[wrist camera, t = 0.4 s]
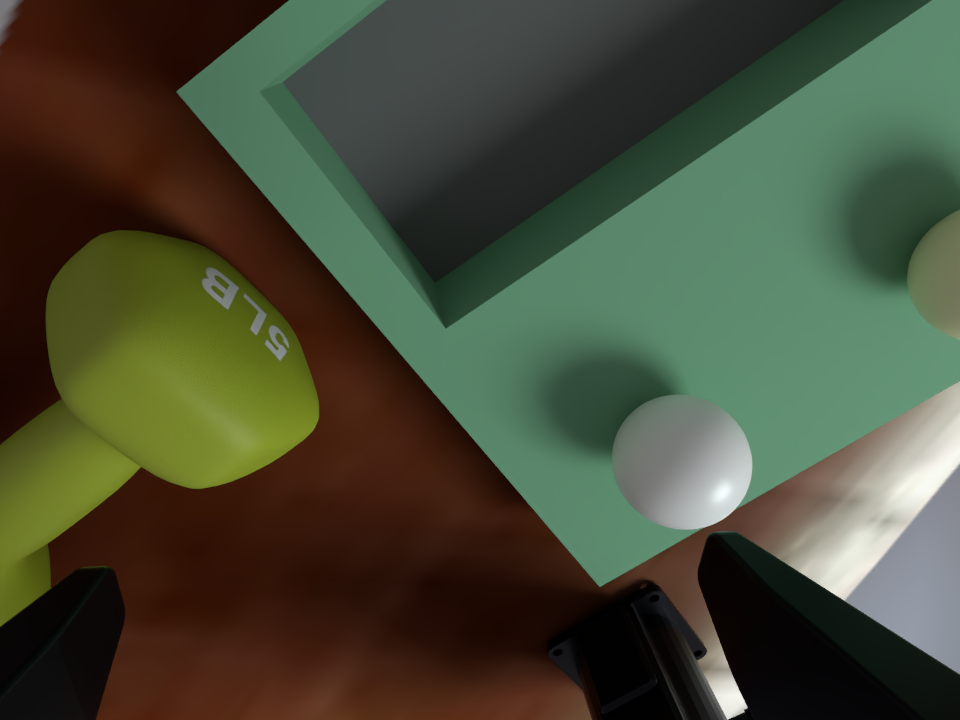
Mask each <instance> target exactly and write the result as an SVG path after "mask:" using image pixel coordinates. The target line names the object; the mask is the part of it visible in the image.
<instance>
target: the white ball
mask: <svg viewBox="0 0 960 720" xmlns="http://www.w3.org/2000/svg"><path fill="white" fill-rule="evenodd" d="M612 468H613V473H614V477H615V480H616V483H617V485H618V487H619V490H620V491H621V493H622V495H623V496H624V498H625V499H626V501H627V502H628V503H629V504H630V505H631V506H632V507H633V508H634V509H635V510H636V511H637V512H638V513H639V514H641V515H642V516H643V517H645V518H647V519H648V520H650V521H652V522H654V523H656V524H659V525H661V526H664V527H668V528H672V529H681V530H692V529H699V528H703V527H707V526H710V525H712V524H715V523H717V522H719V521H721V520H722V519H724V518H725V517H727V516H728V515H729V514H730V513H732V512H733V511H734V510H735V509H736V507H737V506H738V505H739V504H740V503H741V501H742V500H743V498H744V496H745V495H746V492H747V490H748V487H749V485H750V481H751V476H752V455H751V450H750V446H749V443H748V441H747V438H746V436H745V434H744V432H743V431H742V429H741V427H740V426H739V425H738V423H737V422H736V421H735V420H734V419H733V418H732V417H731V415H729V414H728V413H727V412H726V411H725V410H723V409H722V408H721V407H719V406H717V405H716V404H714V403H712V402H710V401H708V400H705V399H702V398H699V397H696V396H690V395H681V394H676V395H667V396H661V397H658V398H655V399H652V400H650V401H648V402H646V403H644V404H642V405H641V406H639V407H638V408H636V409H635V410H634V411H633V412H632V413H631V414H630V415H629V416H628V417H627V418H626V419H625V421H624V422H623V423H622V425H621V427H620V428H619V430H618V432H617V435H616V437H615V441H614V444H613V450H612Z"/></svg>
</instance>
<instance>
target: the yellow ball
mask: <svg viewBox="0 0 960 720" xmlns="http://www.w3.org/2000/svg"><path fill="white" fill-rule="evenodd" d="M907 285H908V290H909V295H910V298H911V300H912V302H913V304H914V306H915V308H916V309H917V311H918V312H919V314H920V315H921V316H922V317H923V318H924V319H925V320H926V321H927V322H928V323H929V324H930V325H931V326H933V327H934V328H936V329H937V330H939V331H940V332H942V333H944V334H946V335H948V336H950V337H953V338H955V339H958V340H960V210H958V211H956V212H954V213H952V214H950V215H948V216H947V217H945V218H944V219H942V220H941V221H940V222H938V223H937V224H936V225H934V226H933V227H932V228H931V229H930V230H929V231H928V232H927V233H926V234H925V235H924V236H923V238H922V239H921V240H920V242H919V243H918V245H917V246H916V248H915V250H914V252H913V254H912V256H911V259H910V262H909V266H908V273H907Z"/></svg>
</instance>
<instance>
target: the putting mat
mask: <svg viewBox="0 0 960 720" xmlns="http://www.w3.org/2000/svg"><path fill="white" fill-rule="evenodd" d="M177 93H178V95H179V96H180V97H181V98H182V99H183V100H184V102H185V103H186V104H187V105H188V106H189V107H190V109H191V110H192V111H193V112H194V113H195V114H196V116H197V117H198V118H199V119H200V120H201V121H202V123H203V124H204V125H205V126H206V127H207V128H208V130H209V131H210V132H211V133H212V134H213V135H214V137H215V138H216V139H217V140H218V141H219V142H220V144H221V145H222V146H223V147H224V148H225V149H226V151H227V152H228V153H229V154H230V155H231V156H232V158H233V159H234V160H235V161H236V162H237V164H238V165H239V166H240V167H241V168H242V169H243V171H244V172H245V173H246V174H247V175H248V176H249V178H250V179H251V180H252V181H253V182H254V183H255V185H256V186H257V187H258V188H259V189H260V190H261V192H262V193H263V194H264V195H265V196H266V197H267V199H268V200H269V201H270V202H271V203H272V204H273V206H274V207H275V208H276V209H277V210H278V211H279V213H280V214H281V215H282V216H283V217H284V218H285V220H286V221H287V222H288V223H289V224H290V225H291V227H292V228H293V229H294V230H295V231H296V232H297V234H298V235H299V236H300V237H301V238H302V240H303V241H304V242H305V243H306V244H307V245H308V247H309V248H310V249H311V250H312V251H313V252H314V254H315V255H316V256H317V257H318V258H319V259H320V261H321V262H322V263H323V264H324V265H325V266H326V268H327V269H328V270H329V271H330V272H331V273H332V275H333V276H334V277H335V278H336V279H337V280H338V282H339V283H340V284H341V285H342V286H343V287H344V289H345V290H346V291H347V292H348V293H349V294H350V296H351V297H352V298H353V299H354V300H355V301H356V303H357V304H358V305H359V306H360V307H361V308H362V310H363V311H364V312H365V313H366V314H367V316H368V317H369V318H370V319H371V320H372V321H373V323H374V324H375V325H376V326H377V327H378V328H379V330H380V331H381V332H382V333H383V334H384V335H385V337H386V338H387V339H388V340H389V341H390V342H391V344H392V345H393V346H394V347H395V348H396V349H397V351H398V352H399V353H400V354H401V355H402V356H403V358H404V359H405V360H406V361H407V362H408V363H409V365H410V366H411V367H412V368H413V369H414V370H415V372H416V373H417V374H418V375H419V376H420V377H421V379H422V380H423V381H424V382H425V383H426V384H427V386H428V387H429V388H430V389H431V390H432V392H433V393H434V394H435V395H436V396H437V397H438V399H439V400H440V401H441V402H442V403H443V404H444V406H445V407H446V408H447V409H448V410H449V411H450V413H451V414H452V415H453V416H454V417H455V418H456V420H457V421H458V422H459V423H460V424H461V425H462V427H463V428H464V429H465V430H466V431H467V432H468V434H469V435H470V436H471V437H472V438H473V439H474V441H475V442H476V443H477V444H478V445H479V446H480V448H481V449H482V450H483V451H484V452H485V453H486V455H487V456H488V457H489V458H490V459H491V460H492V462H493V463H494V464H495V465H496V466H497V468H498V469H499V470H500V471H501V472H502V473H503V475H504V476H505V477H506V478H507V479H508V480H509V482H510V483H511V484H512V485H513V486H514V487H515V489H516V490H517V491H518V492H519V493H520V494H521V496H522V497H523V498H524V499H525V500H526V501H527V503H528V504H529V505H530V506H531V507H532V508H533V510H534V511H535V512H536V513H537V514H538V515H539V517H540V518H541V519H542V520H543V521H544V522H545V524H546V525H547V526H548V527H549V528H550V529H551V531H552V532H553V533H554V534H555V535H556V536H557V538H558V539H559V540H560V541H561V542H562V544H563V545H564V546H565V547H566V548H567V549H568V551H569V552H570V553H571V554H572V555H573V556H574V558H575V559H576V560H577V561H578V562H579V563H580V565H581V566H582V567H583V568H584V569H585V570H586V572H587V573H588V574H589V575H590V576H591V577H592V579H593V580H594V581H595V582H596V583H597V584H598V586H599V587H601V586H603V585H604V584H606V583H608V582H610V581H611V580H613V579H615V578H616V577H618V576H620V575H622V574H623V573H625V572H627V571H629V570H630V569H632V568H634V567H636V566H637V565H639V564H641V563H643V562H644V561H646V560H648V559H650V558H651V557H653V556H655V555H657V554H658V553H660V552H662V551H664V550H665V549H667V548H669V547H671V546H672V545H674V544H676V543H678V542H679V541H681V540H683V539H685V538H686V537H688V536H690V535H692V534H693V533H695V532H697V531H699V530H700V529H702V528H699V529H692V530H681V529H672V528H668V527H664V526H661V525H659V524H656V523H654V522H652V521H650V520H648V519H647V518H645V517H643V516H642V515H641V514H639V513H638V512H637V511H636V510H635V509H634V508H633V507H632V506H631V505H630V504H629V503H628V502H627V501H626V499H625V498H624V496H623V495H622V493H621V491H620V490H619V487H618V485H617V483H616V480H615V477H614V473H613V468H612V450H613V444H614V441H615V437H616V435H617V432H618V430H619V428H620V427H621V425H622V423H623V422H624V421H625V419H626V418H627V417H628V416H629V415H630V414H631V413H632V412H633V411H634V410H635V409H636V408H638V407H639V406H641V405H642V404H644V403H646V402H648V401H650V400H652V399H655V398H658V397H661V396H667V395H676V394H681V395H690V396H696V397H699V398H702V399H705V400H708V401H710V402H712V403H714V404H716V405H717V406H719V407H721V408H722V409H723V410H725V411H726V412H727V413H728V414H729V415H731V417H732V418H733V419H734V420H735V421H736V422H737V423H738V425H739V426H740V427H741V429H742V431H743V432H744V434H745V436H746V438H747V441H748V443H749V446H750V450H751V455H752V476H751V481H750V485H749V487H748V490H747V492H746V495H745V496H744V498H743V500H742V501H741V503H740V504H739V505H738V506H737V507H736V509H737V508H739V507H740V506H742V505H744V504H746V503H747V502H749V501H751V500H753V499H754V498H756V497H758V496H760V495H761V494H763V493H765V492H767V491H768V490H770V489H772V488H774V487H775V486H777V485H779V484H781V483H782V482H784V481H786V480H788V479H789V478H791V477H793V476H795V475H796V474H798V473H800V472H802V471H803V470H805V469H807V468H809V467H810V466H812V465H814V464H816V463H817V462H819V461H821V460H823V459H824V458H826V457H828V456H829V455H831V454H833V453H835V452H836V451H838V450H840V449H842V448H843V447H845V446H847V445H849V444H850V443H852V442H854V441H856V440H857V439H859V438H861V437H863V436H864V435H866V434H868V433H870V432H871V431H873V430H875V429H877V428H878V427H880V426H882V425H884V424H885V423H887V422H889V421H891V420H892V419H894V418H896V417H898V416H899V415H901V414H903V413H905V412H906V411H908V410H910V409H912V408H913V407H915V406H917V405H919V404H920V403H922V402H924V401H926V400H927V399H929V398H931V397H933V396H934V395H936V394H938V393H939V392H941V391H943V390H945V389H946V388H948V387H950V386H952V385H953V384H955V383H957V382H959V381H960V340H958V339H955V338H953V337H950V336H948V335H946V334H944V333H942V332H940V331H939V330H937V329H936V328H934V327H933V326H931V325H930V324H929V323H928V322H927V321H926V320H925V319H924V318H923V317H922V316H921V315H920V314H919V312H918V311H917V309H916V308H915V306H914V304H913V302H912V300H911V298H910V295H909V290H908V285H907V273H908V266H909V262H910V259H911V256H912V254H913V252H914V250H915V248H916V246H917V245H918V243H919V242H920V240H921V239H922V238H923V236H924V235H925V234H926V233H927V232H928V231H929V230H930V229H931V228H932V227H933V226H934V225H936V224H937V223H938V222H940V221H941V220H942V219H944V218H945V217H947V216H948V215H950V214H952V213H954V212H956V211H958V210H960V0H289V1H287V2H286V3H285V4H284V5H283V6H281V7H280V8H279V9H278V10H276V11H275V12H274V13H273V14H271V15H270V16H269V17H268V18H267V19H265V20H264V21H263V22H262V23H260V24H259V25H258V26H257V27H255V28H254V29H253V30H252V31H251V32H249V33H248V34H247V35H246V36H244V37H243V38H242V39H241V40H239V41H238V42H237V43H236V44H234V45H233V46H232V47H231V48H230V49H228V50H227V51H226V52H225V53H223V54H222V55H221V56H220V57H218V58H217V59H216V60H215V61H214V62H212V63H211V64H210V65H209V66H207V67H206V68H205V69H204V70H202V71H201V72H200V73H199V74H197V75H196V76H195V77H194V78H193V79H191V80H190V81H189V82H188V83H186V84H185V85H184V86H183V87H181V88H180V89H179V90H178V91H177ZM703 528H704V527H703Z"/></svg>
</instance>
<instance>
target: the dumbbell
mask: <svg viewBox="0 0 960 720" xmlns="http://www.w3.org/2000/svg"><path fill="white" fill-rule="evenodd" d="M46 336H47V346H48V354H49V360H50V366H51V371H52V374H53V378H54V382H55V385H56V387H57V390H58V392H59V394H60V396H61V398H62V399H61V400H59V401H58V402H56V403H55V404H53V405H52V406H50V407H49V408H47V409H46V410H45V411H43V412H42V413H40V414H39V415H38V416H36V417H35V418H34V419H32V420H31V421H30V422H28V423H27V424H26V425H25V426H23V427H22V428H21V429H19V430H18V431H17V432H15V433H14V434H13V435H12V436H10V437H9V438H8V439H6V440H5V441H4V442H3V443H2V444H1V445H0V626H2V625H3V624H4V623H6V622H7V621H8V620H10V619H11V618H12V617H14V616H15V615H16V614H18V613H19V612H20V611H21V610H23V609H24V608H25V607H27V606H28V605H29V604H31V603H32V602H33V601H35V600H36V599H37V598H39V597H40V596H41V595H43V594H44V593H45V592H47V591H48V590H49V589H51V569H50V556H49V549H48V543H49V542H50V541H52V540H53V539H55V538H56V537H57V536H59V535H60V534H61V533H63V532H64V531H65V530H67V529H68V528H69V527H71V526H72V525H73V524H75V523H76V522H77V521H79V520H80V519H81V518H83V517H84V516H85V515H87V514H88V513H89V512H90V511H92V510H93V509H94V508H96V507H97V506H98V505H99V504H101V503H102V502H103V501H104V500H105V499H107V498H108V497H109V496H110V495H112V494H113V493H114V492H115V491H116V490H118V489H119V488H120V487H121V486H122V485H123V484H124V483H126V482H127V481H128V480H129V479H130V478H131V477H132V476H133V475H134V474H135V473H136V472H137V471H138V470H139V469H140V468H141V467H142V468H144V469H146V470H147V471H149V472H151V473H152V474H154V475H156V476H158V477H160V478H162V479H164V480H166V481H168V482H171V483H174V484H177V485H181V486H184V487H187V488H193V489H201V488H207V487H212V486H218V485H221V484H225V483H228V482H231V481H234V480H236V479H239V478H241V477H244V476H246V475H248V474H250V473H252V472H254V471H256V470H258V469H260V468H262V467H264V466H266V465H268V464H269V463H271V462H273V461H275V460H276V459H278V458H279V457H281V456H282V455H284V454H285V453H287V452H288V451H289V450H291V449H292V448H293V447H295V446H296V445H297V444H299V443H300V442H301V441H302V440H304V439H305V438H306V437H307V436H308V435H309V434H310V433H311V432H312V431H313V430H314V428H315V426H316V424H317V421H318V419H319V400H318V396H317V392H316V389H315V386H314V382H313V379H312V376H311V373H310V370H309V368H308V365H307V362H306V359H305V356H304V353H303V351H302V348H301V345H300V343H299V341H298V339H297V337H296V335H295V333H294V331H293V330H292V328H291V326H290V325H289V324H288V322H287V321H286V320H285V319H284V317H283V316H282V315H281V314H280V313H279V312H278V310H277V309H276V308H275V307H274V306H273V305H272V304H271V303H270V302H269V301H268V300H267V299H266V298H265V297H264V296H263V295H262V294H261V293H260V292H259V291H258V290H257V289H256V288H255V287H254V286H253V285H252V284H251V283H250V282H249V281H248V280H247V279H246V278H245V277H244V276H242V275H241V274H240V273H239V272H238V271H237V270H236V269H235V268H234V267H232V266H231V265H230V264H229V263H228V262H227V261H226V260H224V259H223V258H222V257H220V256H219V255H218V254H216V253H215V252H213V251H211V250H210V249H208V248H206V247H204V246H201V245H199V244H197V243H193V242H190V241H186V240H182V239H178V238H174V237H169V236H164V235H160V234H155V233H150V232H144V231H130V230H117V231H112V232H108V233H104V234H101V235H99V236H98V237H96V238H94V239H93V240H91V241H90V242H89V243H88V244H86V245H85V246H84V247H83V248H82V249H81V250H79V251H78V252H77V253H76V254H75V255H74V256H73V257H72V258H71V259H70V260H69V261H68V262H67V263H66V264H65V265H64V266H63V267H62V268H61V270H60V271H59V273H58V274H57V275H56V277H55V278H54V280H53V281H52V283H51V286H50V288H49V291H48V295H47V301H46Z"/></svg>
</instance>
